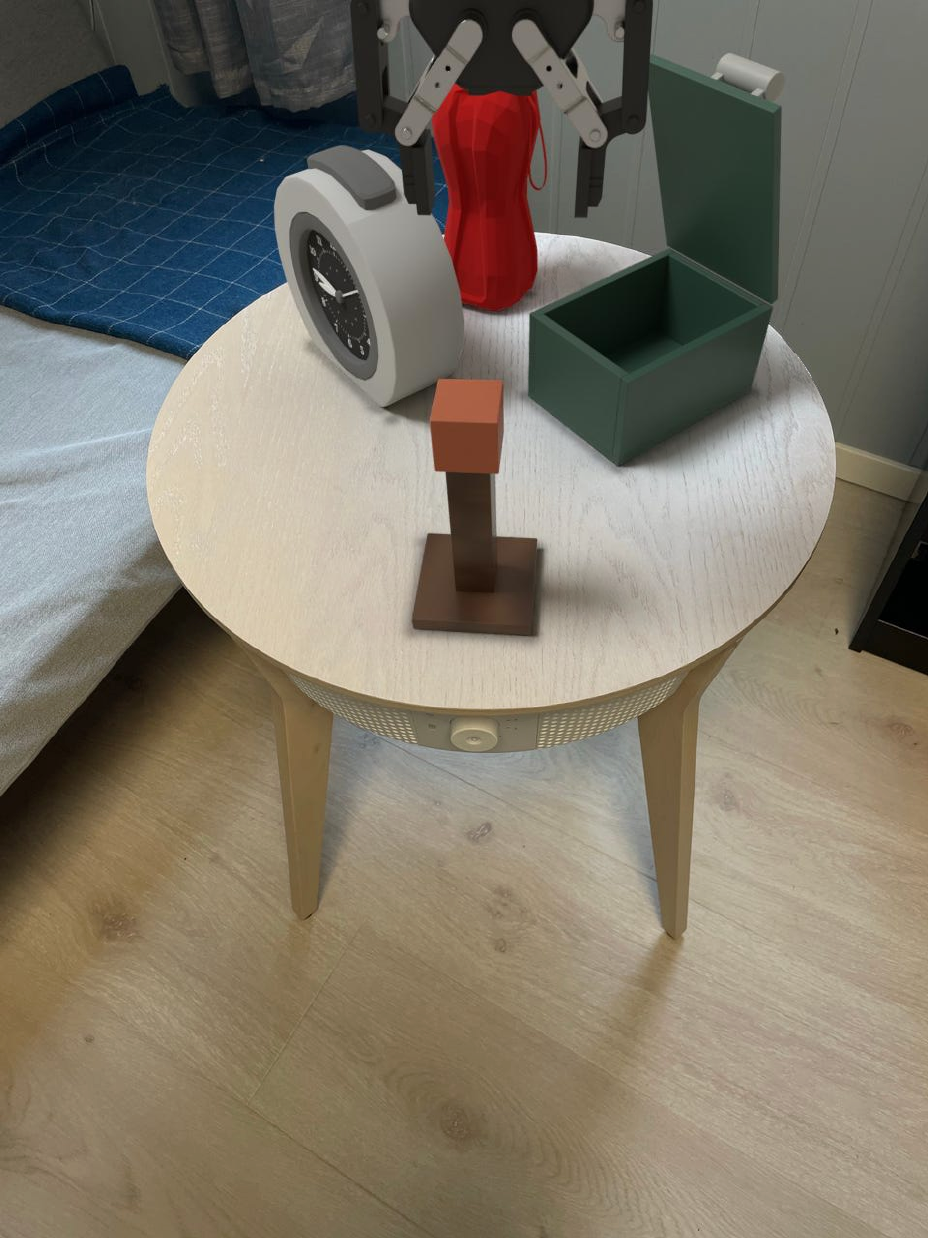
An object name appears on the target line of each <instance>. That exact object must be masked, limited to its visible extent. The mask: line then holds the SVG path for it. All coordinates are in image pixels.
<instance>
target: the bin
mask: <svg viewBox="0 0 928 1238" xmlns="http://www.w3.org/2000/svg"><path fill="white" fill-rule="evenodd" d="M773 310H774V306H773V305H772V304H770V303H768V302H766V301H765V300H763V299H761V298H759V297H757V296H756V295H754V294H752V293H750V292H749V291H747V290H745V289H743V288H741V287H740V286H738V285H736V284H734V283H733V282H731V281H729V280H727V279H725V278H724V277H722V276H720V275H718V274H717V273H715V272H713V271H711V270H709V269H708V268H706V267H704V266H702V265H701V264H699V263H697V262H695V261H694V260H692V259H690V258H688V257H686V256H685V255H683V254H681V253H679V252H678V251H676V250H674V249H672V248H670V247H669V248H666V249H664V250H662V251H659V252H658V253H654V255H651V256H649V257H647V258H645V259H642V260H641V261H638V262H636V263H634V264H631V265H630V266H627V267H625V268H623V269H621V270H618V271H617V272H615V273H613V274H610V275H609V276H606V277H604V278H602V279H600V280H598V281H595V282H594V283H593V282H592V283H591V284H589V285H586V286H585V287H583V288H581V289H578V290H576V291H574V292H571V293H570V294H567V295H565V296H564V297H561V298H559V299H557V300H555V301H553V302H550V303H547V304H546V305H544V306H543V307H540V308H538V309H536V310H533V311H531V312H530V313H529V314H528V315H529V319H528V322H529V323H528V379H527V396H528V397H529V398H531V400H533V401H534V402H535V403H536V404H538V406H540V407H541V408H543V409H544V410H545V411H547V412H548V413H549V414H550V415H552V416H553V417H554V418H555V419H557V420H558V421H559V422H560V423H562V425H564V426H566V428H568V429H569V430H571V431H572V432H573V433H574V434H576V435H577V436H578V437H580V438H581V439H582V440H583V441H585V443H587V444H588V445H590V446H591V447H592V448H593V449H595V450H596V451H597V452H599V453H600V454H601V455H603V456H604V457H605V458H606V459H608V460H609V461H610V462H611V463H613V464H614V465H615V466H617V467H620V466H622V465H623V464H625V463H627V462H629V461H630V460H632V459H634V458H636V457H638V456H640V455H641V454H643V453H645V452H646V451H648V450H650V449H652V448H653V447H655V446H657V445H660V444H661V443H663V442H665V441H666V440H667V439H669V438H671V437H674V436H675V435H676V434H678V433H680V432H682V431H683V430H685V429H687V428H688V427H691V426H692V425H694V424H695V423H697V422H699V421H701V420H704V418H707V417H708V416H710V415H712V414H714V413H715V412H717V411H719V410H721V409H722V408H724V407H725V406H728V405H729V404H731V403H733V402H735V401H736V400H738V399H740V398H742V397H744V396H745V395H747V394H749V393H751V391H752V390H753V385H754V381H755V377H756V374H757V371H758V367H759V363H760V359H761V355H762V351H763V348H764V344H765V340H766V336H767V332H768V330H769V329H768V328H769V324H770V321H771V317H772V313H773Z"/></svg>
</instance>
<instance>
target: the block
mask: <svg viewBox="0 0 928 1238" xmlns="http://www.w3.org/2000/svg"><path fill="white" fill-rule="evenodd" d="M504 408H505V404H504V381H503V380H497V379H496V380H491V379H463V378H462V379H459V378H445V379H438V382H436V388H435V393H434V398H433V403H432V407H431V412H430V418H429V428H430V429H429V430H430V436H431V437H430V438H431V439H430V440H431V449H432V460H433V469H434V472H440V473H445V472H463V473H488V474H495V475H498V474H499V473H500V467H501V459H502V451H503V442H504V435H505V434H504V433H505V414H504V413H505V409H504Z"/></svg>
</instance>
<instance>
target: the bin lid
mask: <svg viewBox="0 0 928 1238" xmlns="http://www.w3.org/2000/svg"><path fill="white" fill-rule="evenodd" d="M785 83H786V76H785V74H784V72H783V71H780V70H777V69H774V68H772V67H769V66H766V65H764V64H761V63H758V62H756V61H753V60H750V59H747V58H745V57H742V56H740V55H737V54H736V53H735V54H734V53H732V52H727V53H726V54H724V55H723V56H722V57H721V58H720V60H719V61H718V63H717V65H716V69H715V73H713V74H712V75H711V76H708V75H705V74H703V73H701V72H698V71H696V70H693V69H691V68H688V67H686V66H683V65H681V64H678V63H676V62H673V61H671V60H669V59H666V58H663V57H661V56H658V55H656V54H653V53H650V65H649V82H648V101H649V102H648V103H649V110H650V117H651V126H652V131H653V132H652V134H653V141H654V150H655V159H656V167H657V175H658V176H657V177H658V183H659V191H660V200H661V201H660V202H661V209H662V217H663V225H664V233H665V241H666V242H665V243H666V246H667V247H669V248H670V249H671V250H673V251H675V252H677V253H679V254H680V255H682V256H684V257H686V258H687V259H689V260H691V261H693V262H695V263H696V264H698V265H700V266H702V267H703V268H705V269H707V270H709V271H710V272H712V273H714V274H716V275H718V276H719V277H721V278H723V279H725V280H726V281H728V282H730V283H732V284H734V285H735V286H737V287H739V288H741V289H742V290H744V291H746V292H748V293H749V294H751V295H753V296H755V297H757V298H758V299H760V300H762V301H764V302H765V303H767V304H769V305H773V304H774V303H775V302H777V301H778V300H779V268H780V267H779V266H780V219H781V217H780V216H781V213H780V212H781V173H782V172H781V170H782V169H781V164H782V162H781V161H782V120H783V119H782V118H783V117H782V115H783V112H782V111H783V107H782V105H780V104H777V103H775V101H776V100H777V99H778V98H779V96H781V94H782V93H783V89H784V86H785Z"/></svg>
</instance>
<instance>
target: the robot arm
mask: <svg viewBox="0 0 928 1238" xmlns="http://www.w3.org/2000/svg"><path fill="white" fill-rule="evenodd" d="M349 6H350V7H349V11H350V12H349V13H350V24H351V36H352V38H351V39H352V50H353V63H354V65H353V66H354V75H355V77H354V78H355V89H356V103H357V104H356V105H357V117H358V123H359V126H360V127H361V129H363V131H365V132H367V133H369V134H374V133H377V132H380V133H383V134H385V135H387V136H390V137H391V138H393V139H394V140H395V141H396V143H397V145H398V148H399V156H400V169H401V170H402V179H403V189H404V196H405V198H406V200H407V202H408V204H416V208H417V214H418V215H429V216H430V215H431V213H432V212H433V209H434V205H435V202H436V187H435V172H434V157H433V145H432V144H433V143H432V130H431V128H427V126H428V124H429V123H430V121H431V120H432V116H433V115H434V113H436V112H437V110H438V109H439V107H440V106H441V104H442V102H443V101H444V99H445V98H446V96H447V95H448V93H449V91H450V90H451V88H452V87H453V85H454V83H455V84H457V85H458V86H459V87H461V88H462V89H464V90H467V91H468V95H474V96H484V95H487V94H491V93H494V92H498V91H502V92H505V93H509V94H512V95H516V96H532V92H533V91H535V90H537V91H538V90H540V89H541V88H543V87H544V88H545V90H546V92H547V93H548V94H549V96H550V97H551V99H552V101H553V102H554V103H555V105H556V106H557V108H558V109H559V111H560V112H561V113H562V114H563V115H566V117H567V118H568V119H569V121H570V123H571V124H572V126H573V127H574V129H575V131H576V132H577V134H578V135H579V140H578V150H577V151H578V154H577V170H576V184H575V201H574V216H573V217H574V218H575V219H588V213H589V208H598V207H599V205H600V203H601V201H602V199H603V193H604V180H605V170H606V169H605V168H606V157H607V148H608V146H609V144H610V143H611V141H612V140H613V139H615V138H616V137H618V136H623V135H625V134H627V135H637V134H639V133H640V132H642V131H643V130H644V129H645V126H646V123H647V113H648V112H647V111H648V99H649V94H648V82H649V65H650V55H651V47H652V29H653V14H654V0H350V4H349ZM593 16H596V17H599V18H600V19H602V20H603V22H604V24H605V26H606V33H607V36H608V38H609V39H610V40H611V41H612V42H615V43H623V52H622V53H623V55H622V77H621V95H619V96H617V97H614V98H612V99H609V100H607V101H604V100H603V98H602V96H601V95H600V93H599V92H598V90H597V88H596V87H595V85H594V83H593V82H592V80H591V79H590V77H589V74H588V70H587V68H586V67H585V65H584V62H583V61H582V60H581V58H580V57H579V54H578V53H577V51H576V50H575V48H574V46H575V44H576V43H577V41H578V40H579V38H580V37H581V36H582V34H583V33H584V31H585V29H587V27H588V25H589V24H590V22H591V19H592V18H593ZM409 17H410V20H411V22H412V25H413V26H414V27H415V29H416V30H417V31H418V33H419V34H420V36H421V38H422V39H423V41H424V42H425V44H427V46H428V48H429V49H430V51H431V52H432V53H433V55H432V57H431V58H430V61H429V62H428V64H427V66H426V68H425V69H424V71H423V73H422V75H421V77H420V79H419V81H417V83H416V86H415V87H414V89H413V91H412V92H411V94H410V95H409V97H408V99H407V101H404V100H402V99H400V98H397V97H395V96H392V95H391V85H390V84H391V83H390V82H391V81H390V60H389V43H391V42H393V41H394V40H395V39H396V37H397V34H398V32H399V31H400V27H401V21H402V20H403V19H404V18H409ZM432 214H433V213H432Z"/></svg>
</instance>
